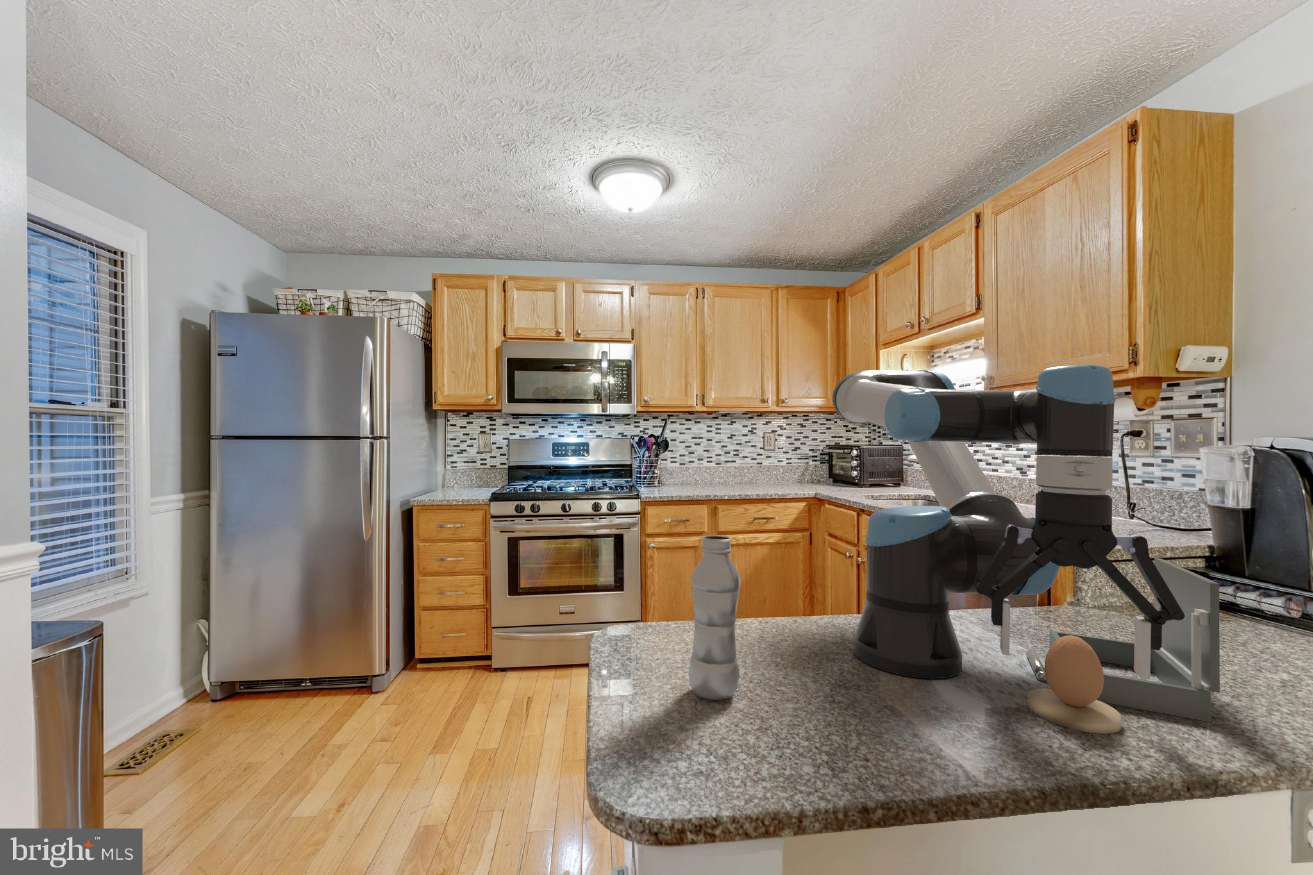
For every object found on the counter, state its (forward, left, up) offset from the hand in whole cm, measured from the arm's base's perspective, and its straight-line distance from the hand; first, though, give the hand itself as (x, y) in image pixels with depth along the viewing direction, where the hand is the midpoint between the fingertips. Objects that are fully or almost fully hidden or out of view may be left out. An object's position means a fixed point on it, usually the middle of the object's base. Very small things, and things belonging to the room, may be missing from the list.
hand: (1069, 663), depth 66 cm
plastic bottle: (-40, -18, -6) cm, 44 cm away
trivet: (0, 0, -6) cm, 6 cm away
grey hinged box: (+8, +16, -6) cm, 19 cm away
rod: (-1, +16, -6) cm, 17 cm away
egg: (0, 0, -5) cm, 5 cm away
